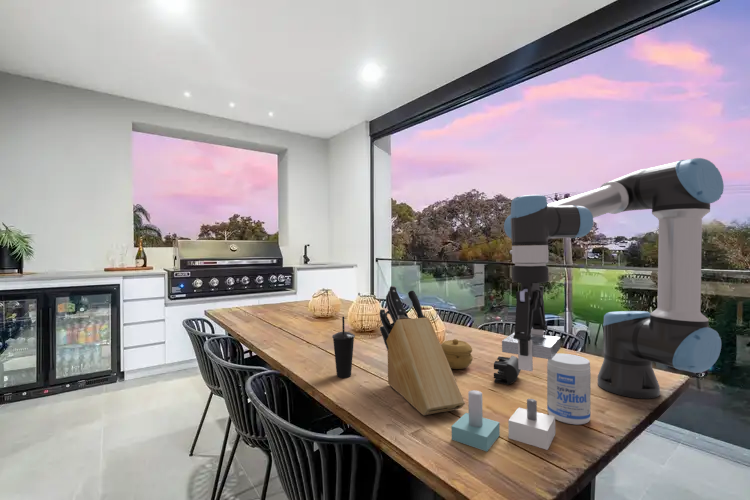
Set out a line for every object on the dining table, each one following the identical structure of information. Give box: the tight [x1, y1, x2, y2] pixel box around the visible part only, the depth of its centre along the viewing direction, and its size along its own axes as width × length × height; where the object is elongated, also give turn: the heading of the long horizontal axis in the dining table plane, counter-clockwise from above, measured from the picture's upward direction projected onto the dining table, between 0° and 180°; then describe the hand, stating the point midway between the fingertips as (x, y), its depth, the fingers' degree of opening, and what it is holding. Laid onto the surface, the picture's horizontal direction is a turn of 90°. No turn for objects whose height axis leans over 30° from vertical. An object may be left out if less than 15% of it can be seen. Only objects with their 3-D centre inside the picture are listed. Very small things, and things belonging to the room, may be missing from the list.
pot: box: [440, 338, 474, 370], centre depth 127 cm, size 12×12×10 cm
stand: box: [507, 398, 556, 451], centre depth 80 cm, size 8×8×8 cm
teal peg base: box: [451, 390, 501, 452], centre depth 79 cm, size 8×8×10 cm
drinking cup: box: [331, 316, 356, 379], centre depth 120 cm, size 8×8×20 cm
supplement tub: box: [546, 352, 592, 426], centre depth 89 cm, size 10×10×15 cm
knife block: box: [379, 285, 466, 416], centre depth 105 cm, size 11×35×31 cm, turn 20°
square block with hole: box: [501, 331, 561, 360], centre depth 80 cm, size 10×10×2 cm
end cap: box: [493, 355, 522, 386], centre depth 114 cm, size 10×7×7 cm
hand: (532, 363), depth 80 cm, fingers closed on square block with hole, 10 cm apart
